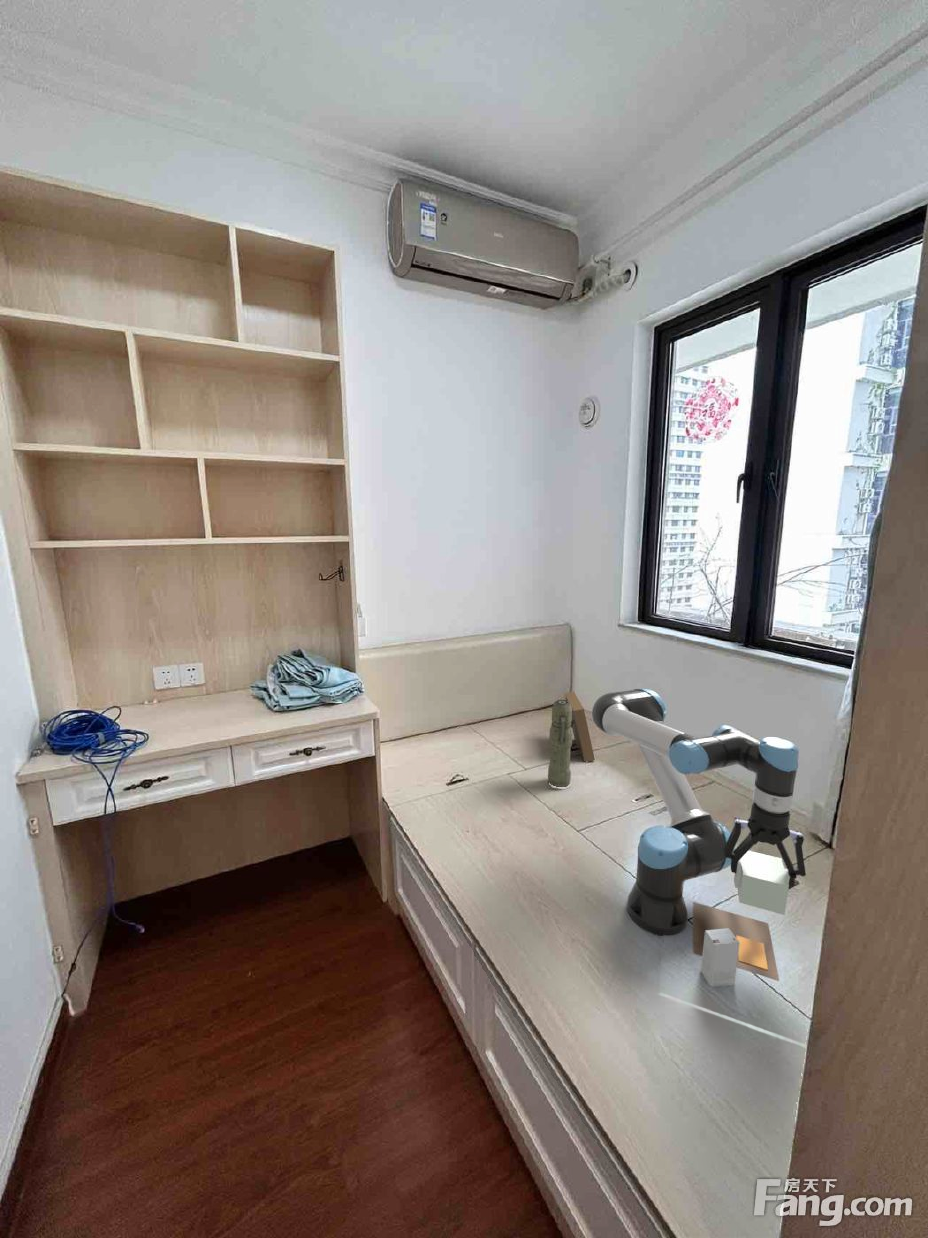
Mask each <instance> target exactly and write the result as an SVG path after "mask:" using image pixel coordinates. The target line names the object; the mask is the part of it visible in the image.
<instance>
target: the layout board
mask: <svg viewBox="0 0 928 1238" xmlns="http://www.w3.org/2000/svg"><path fill="white" fill-rule="evenodd" d="M692 922H693V923H692V930H693V931H692V933H693V934H692V940H693V941H692V942H693V944H692V945H693V946H692V947H693V948H692V949H693V950H692V952H693V954H695V955H698V956H700V957H702V954H703V945H704V936H705V930H716V929H726V928H729V929H730V931H731V932H732V933H733V934H734V936H735V937H736V938H737V940H738V941H739V942H740V945H739V952H738V960H737V968H738V969H742V970H744V971H748V972H750V973H754V974H757V975H759V976H763V977H766V978H769V979H772V980H775V981H780V978H779V972H778V968H777V963H776V958H775V952H774V946H773V941H772V936H771V931H770V926H769V922H766V921H765V922H764V921H762V920H757V919H754V918H752V917H751V918H750V917H748V916H744V915H741V914H737V913H733V912H730V911H727V910H723V909H719V908H715V907H714V906H713V907H712V906H709V905H705V904H702V903H699V902H695V901H692Z"/></svg>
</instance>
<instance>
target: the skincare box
mask: <svg viewBox="0 0 928 1238" xmlns="http://www.w3.org/2000/svg"><path fill="white" fill-rule="evenodd" d="M739 945H740V942H739V941H738V940H737V938H736V937H735V936H734V934H733V933H732V932H731V931H730V929H729V928H726V929H716V930H705V936H704V945H703V954H702V956H701V964H700V972H701V973H702V975H703V977H704V978H705V979H706V982H707V984H708V985H709V986H710V987H720V986H722V987H723V986H730V985H731V986H733V985H735V984H736V983H735V982H736V976H737V968H738V967H737V960H738V952H739Z"/></svg>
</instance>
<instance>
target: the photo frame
mask: <svg viewBox="0 0 928 1238" xmlns="http://www.w3.org/2000/svg"><path fill="white" fill-rule="evenodd" d="M564 698H565V700H566V701H568V702H570V705H571V708H572V719H571V728H572V735H573V738H574V741H576V742H575V744H576V743H577V744H576V745H578V746H577V748H578V747H579V748H578V750H579V749H580V750H579V752H580V751H581V752H580V755H581V756H583V757H582V758H584V759H583V761H584V760H585V761H589V762H593V761H596V758H595V754H594V750H593V746H592V740H591V736H590V732H589V726H588V723H587V718H586V713H585V709H584V707H583V705H582V703H581V701H580V700H579V698H578V697H577V694H576V692H575V691H573V690H572V691H568V692H564ZM585 761H584V762H585Z"/></svg>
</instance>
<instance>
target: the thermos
mask: <svg viewBox="0 0 928 1238" xmlns="http://www.w3.org/2000/svg"><path fill="white" fill-rule="evenodd" d="M571 719H572V708H571V705H570V702H568V701H566V699H557V700H554V702H553V705H552V708H551V726H550V729H549V742H548V743H549V746H550V747H549V748H550V749H549V751H550V752H549V765H548V770H547V773H548V774H547V779H548V780H547V781H549V783H550V784H551V785H553V786H556V787H567V786H568V785H569V784H570V785H571V777H572V776H571V775H572V772H571V765H570V764H571V747H572V744H573V730H572V728H571Z"/></svg>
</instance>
